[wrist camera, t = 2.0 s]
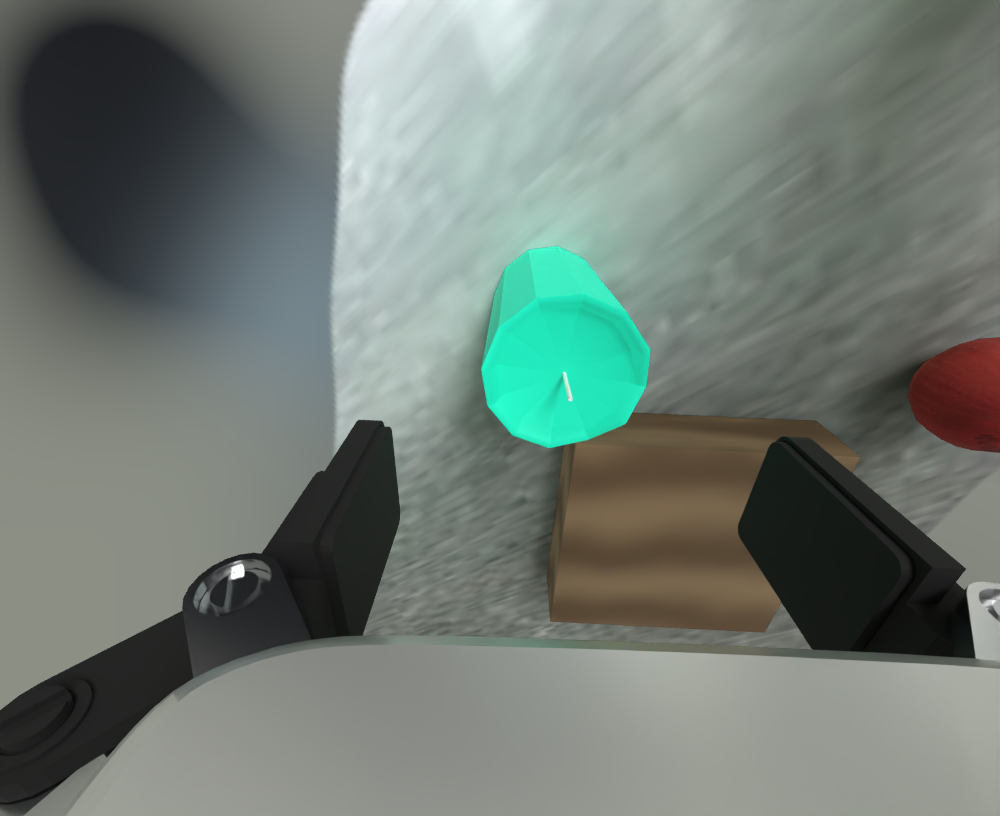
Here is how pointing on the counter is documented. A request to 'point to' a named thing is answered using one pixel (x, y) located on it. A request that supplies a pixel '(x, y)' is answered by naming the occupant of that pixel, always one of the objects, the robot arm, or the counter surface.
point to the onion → (961, 395)
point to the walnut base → (666, 522)
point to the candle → (560, 352)
